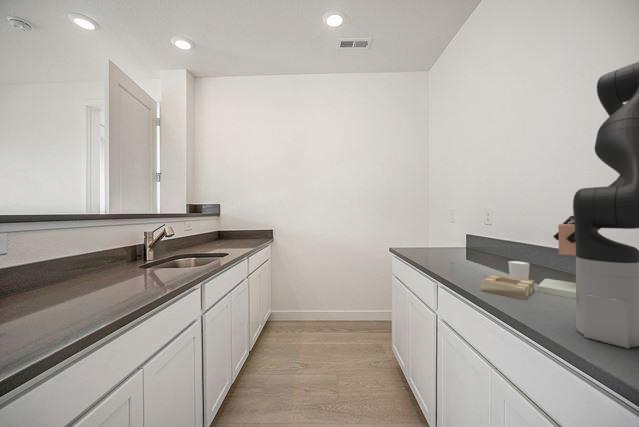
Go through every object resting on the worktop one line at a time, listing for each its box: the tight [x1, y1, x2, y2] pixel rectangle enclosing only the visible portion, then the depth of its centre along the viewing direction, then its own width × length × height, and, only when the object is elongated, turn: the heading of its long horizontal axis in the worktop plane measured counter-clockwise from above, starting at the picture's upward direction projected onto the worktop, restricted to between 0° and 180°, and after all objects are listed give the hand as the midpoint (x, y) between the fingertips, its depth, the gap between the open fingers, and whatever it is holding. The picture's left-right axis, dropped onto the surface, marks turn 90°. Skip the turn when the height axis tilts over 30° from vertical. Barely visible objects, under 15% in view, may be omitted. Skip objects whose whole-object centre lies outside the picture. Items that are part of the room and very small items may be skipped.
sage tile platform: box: [537, 278, 576, 300], centre depth 84 cm, size 14×14×2 cm
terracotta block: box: [557, 223, 576, 257], centre depth 83 cm, size 4×4×10 cm
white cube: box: [507, 260, 531, 279], centre depth 100 cm, size 7×7×7 cm
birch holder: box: [480, 273, 536, 300], centre depth 86 cm, size 14×12×4 cm
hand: (562, 239), depth 84 cm, fingers closed on terracotta block, 6 cm apart
